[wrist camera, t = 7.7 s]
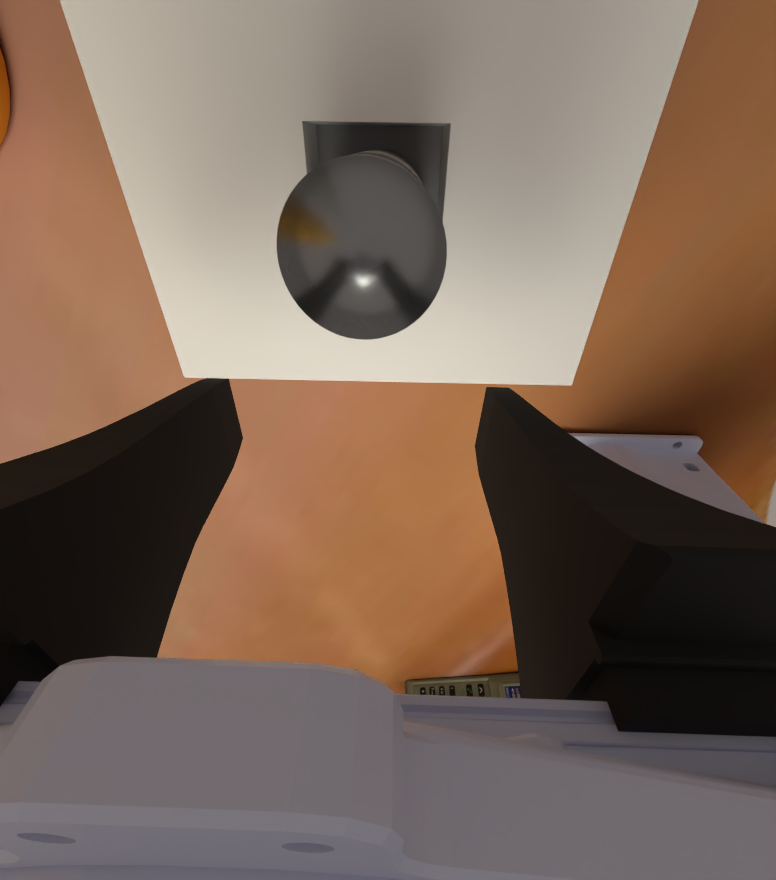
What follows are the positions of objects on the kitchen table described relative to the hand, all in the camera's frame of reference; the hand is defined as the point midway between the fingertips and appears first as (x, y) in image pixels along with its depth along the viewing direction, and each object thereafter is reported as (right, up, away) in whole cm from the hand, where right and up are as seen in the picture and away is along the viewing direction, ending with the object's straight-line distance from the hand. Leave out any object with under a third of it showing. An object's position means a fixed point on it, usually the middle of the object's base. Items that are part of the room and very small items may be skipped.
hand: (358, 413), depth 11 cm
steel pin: (0, +9, +5) cm, 10 cm away
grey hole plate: (0, +10, +6) cm, 11 cm away
